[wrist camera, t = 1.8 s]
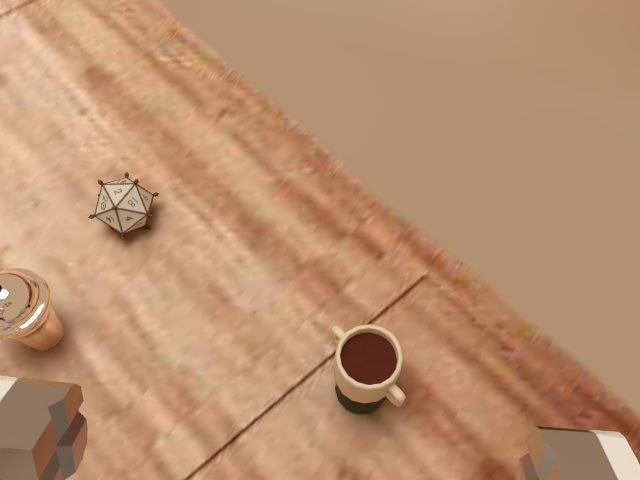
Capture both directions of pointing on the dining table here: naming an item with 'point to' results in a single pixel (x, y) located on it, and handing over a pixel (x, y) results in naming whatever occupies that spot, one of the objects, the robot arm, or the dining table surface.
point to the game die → (123, 205)
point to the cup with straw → (27, 310)
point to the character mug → (367, 367)
